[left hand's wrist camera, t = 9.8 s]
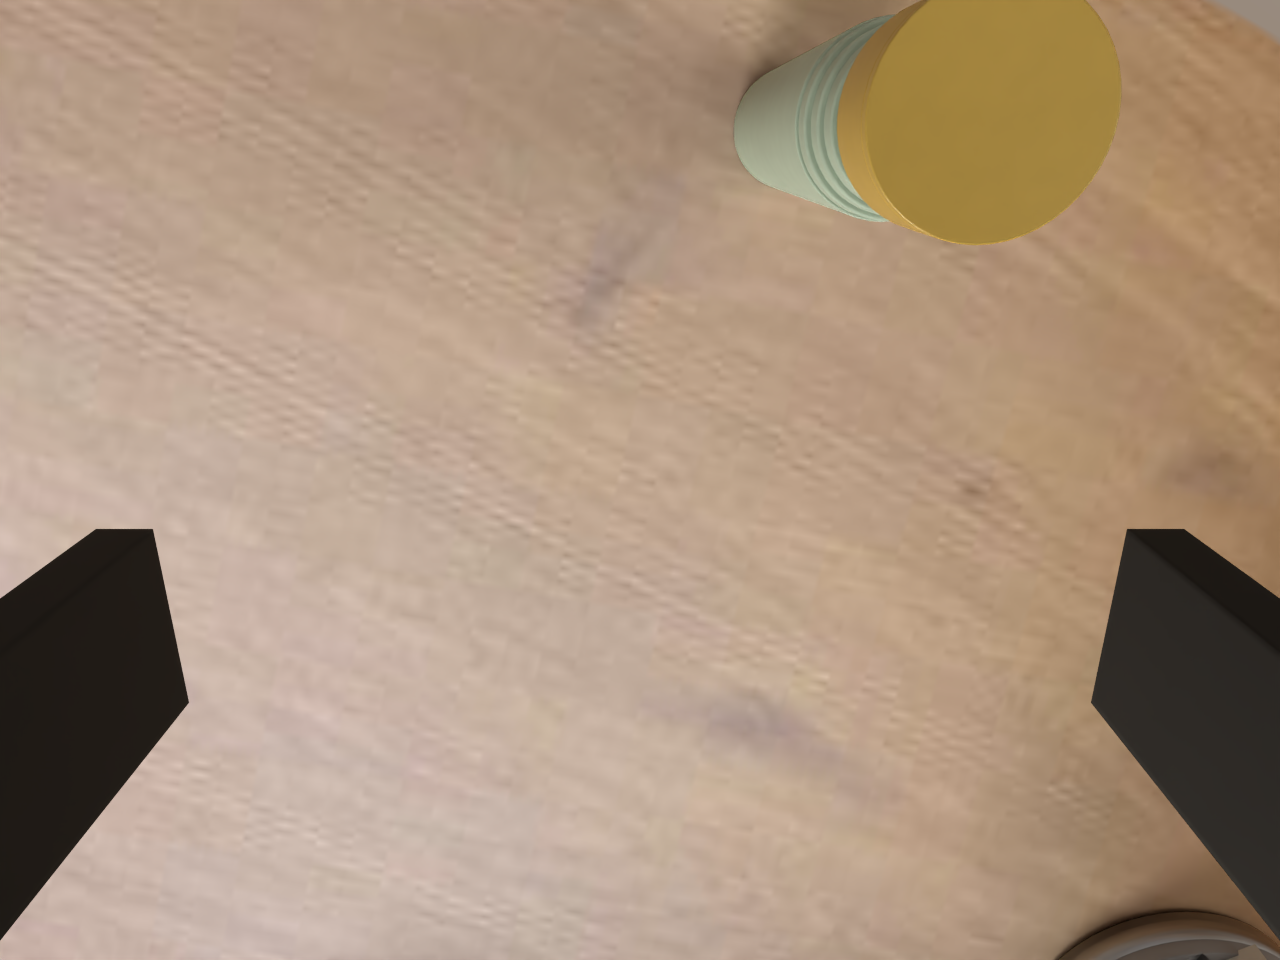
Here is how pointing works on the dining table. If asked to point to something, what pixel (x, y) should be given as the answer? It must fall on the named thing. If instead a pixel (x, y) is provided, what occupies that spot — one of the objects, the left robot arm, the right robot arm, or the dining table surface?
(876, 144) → the cap
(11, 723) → the left robot arm
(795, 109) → the bottle
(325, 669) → the dining table surface
